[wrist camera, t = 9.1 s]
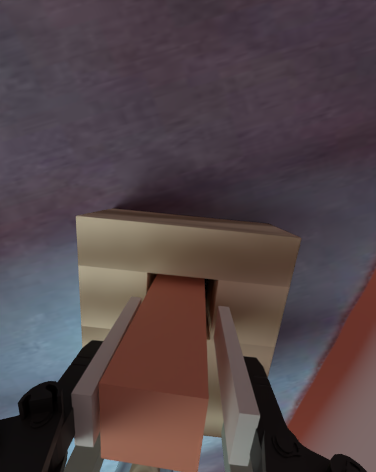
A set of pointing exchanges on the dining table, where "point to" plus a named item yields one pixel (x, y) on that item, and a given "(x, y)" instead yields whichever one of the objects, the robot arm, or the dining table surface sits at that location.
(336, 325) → the dining table surface
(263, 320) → the socket block
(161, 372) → the peg
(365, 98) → the dining table surface
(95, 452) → the grey toy table
